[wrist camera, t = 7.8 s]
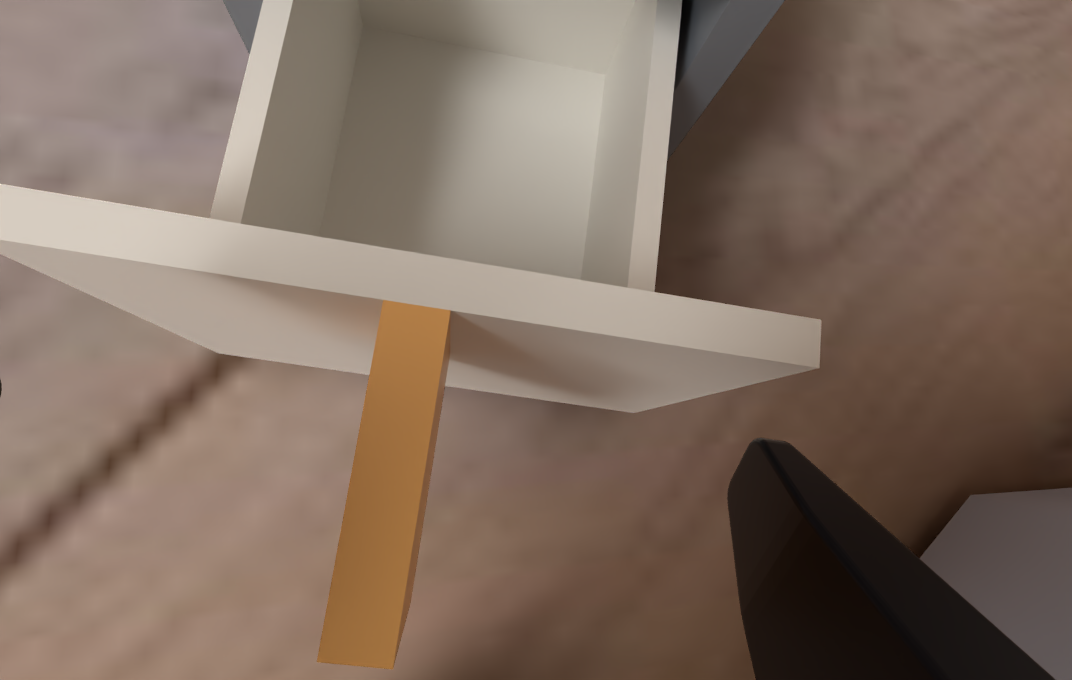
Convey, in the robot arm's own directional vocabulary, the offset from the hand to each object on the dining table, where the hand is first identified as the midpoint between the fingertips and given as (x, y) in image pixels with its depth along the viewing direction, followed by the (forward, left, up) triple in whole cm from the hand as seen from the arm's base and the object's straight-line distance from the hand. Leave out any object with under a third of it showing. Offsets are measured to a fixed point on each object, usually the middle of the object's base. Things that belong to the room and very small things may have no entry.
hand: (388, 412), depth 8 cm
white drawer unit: (+4, -4, -12) cm, 13 cm away
